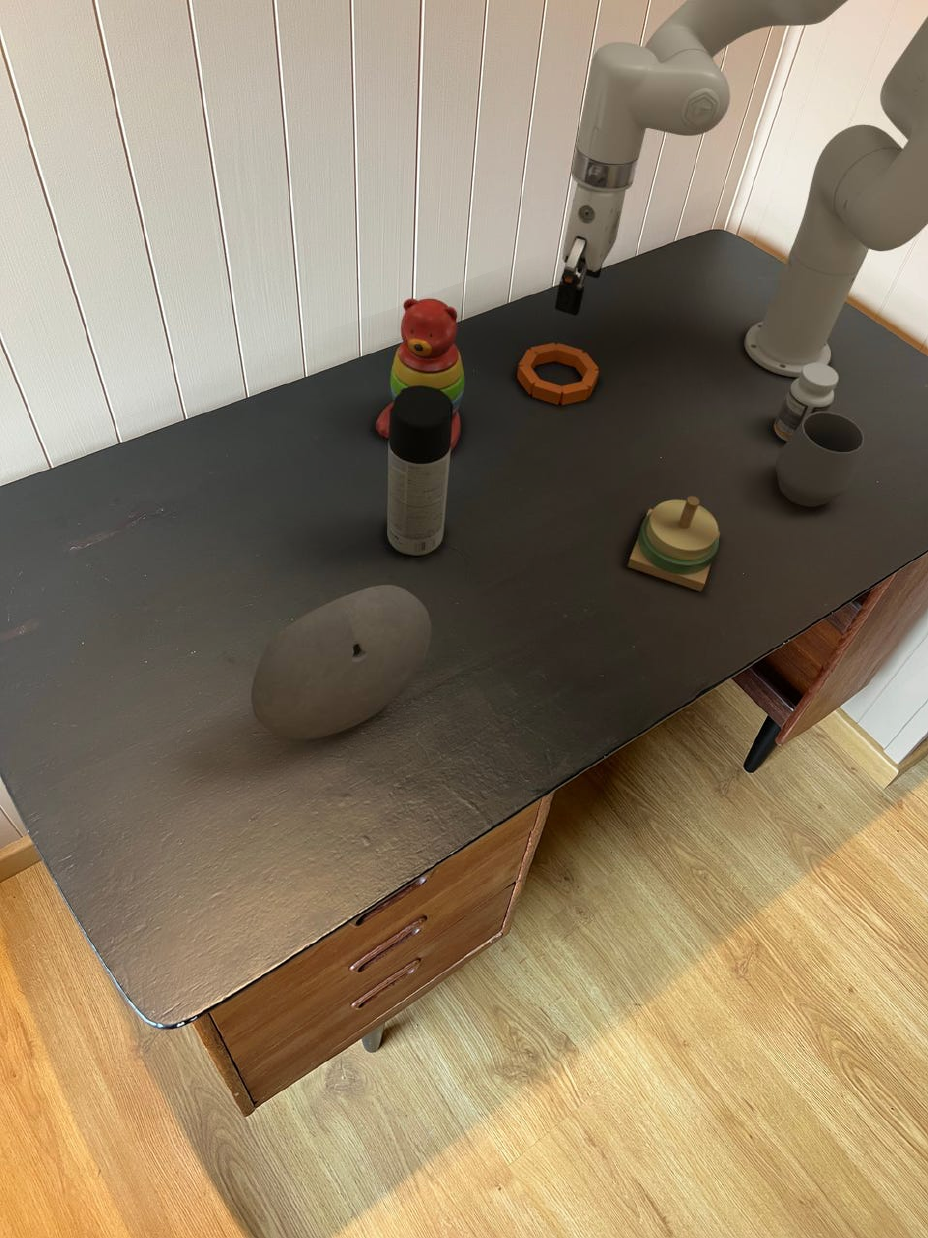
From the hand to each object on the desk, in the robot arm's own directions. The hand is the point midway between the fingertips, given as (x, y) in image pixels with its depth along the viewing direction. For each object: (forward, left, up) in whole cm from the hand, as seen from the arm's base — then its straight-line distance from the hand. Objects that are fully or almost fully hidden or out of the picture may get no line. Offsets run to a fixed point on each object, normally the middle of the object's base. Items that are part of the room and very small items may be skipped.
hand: (577, 292), depth 122 cm
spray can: (+40, -6, -11) cm, 42 cm away
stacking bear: (+21, -13, -11) cm, 27 cm away
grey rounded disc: (+66, -2, -11) cm, 67 cm away
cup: (+11, +36, -11) cm, 40 cm away
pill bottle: (0, +33, -11) cm, 35 cm away
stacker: (+29, +23, -11) cm, 39 cm away
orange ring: (+4, 0, -11) cm, 12 cm away
